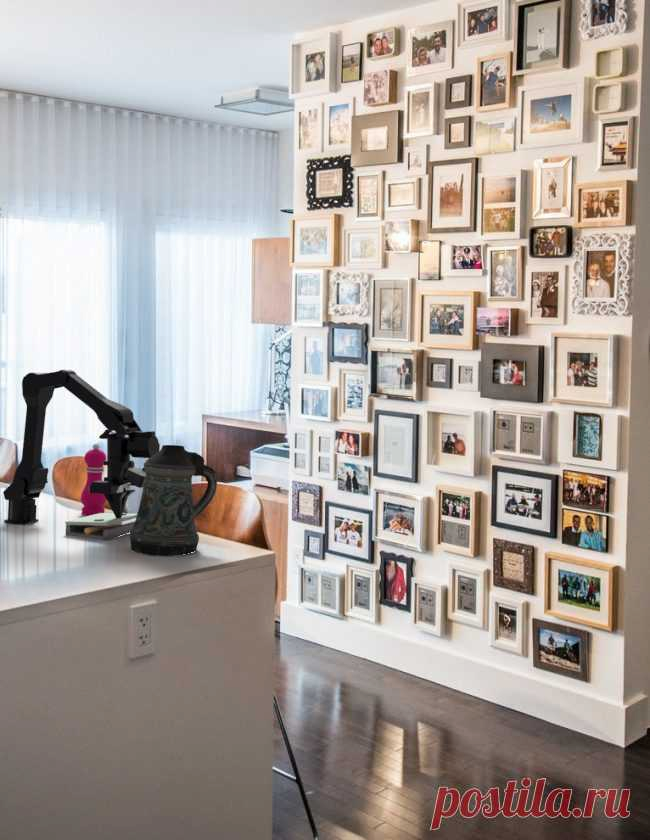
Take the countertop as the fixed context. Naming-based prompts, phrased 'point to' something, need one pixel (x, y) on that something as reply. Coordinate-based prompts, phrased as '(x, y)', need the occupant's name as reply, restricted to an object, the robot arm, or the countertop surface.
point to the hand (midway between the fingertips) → (118, 518)
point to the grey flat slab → (99, 530)
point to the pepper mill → (94, 473)
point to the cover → (101, 519)
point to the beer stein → (170, 503)
